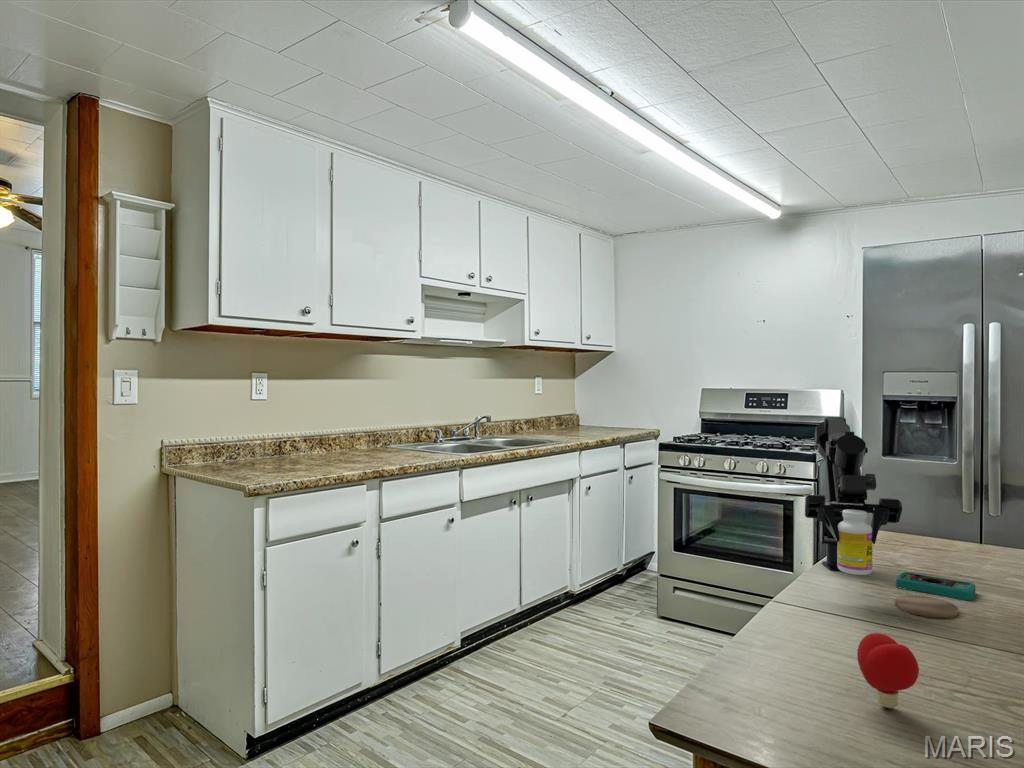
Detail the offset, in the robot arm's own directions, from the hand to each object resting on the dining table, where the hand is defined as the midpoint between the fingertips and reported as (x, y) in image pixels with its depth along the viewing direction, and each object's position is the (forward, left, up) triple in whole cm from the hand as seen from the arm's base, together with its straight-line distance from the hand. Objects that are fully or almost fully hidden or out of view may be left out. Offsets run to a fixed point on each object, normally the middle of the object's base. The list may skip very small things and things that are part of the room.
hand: (855, 541), depth 138 cm
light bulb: (+46, -14, -13) cm, 50 cm away
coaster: (+2, +13, -13) cm, 19 cm away
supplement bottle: (-1, 0, -7) cm, 7 cm away
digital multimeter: (-11, +22, -14) cm, 28 cm away
